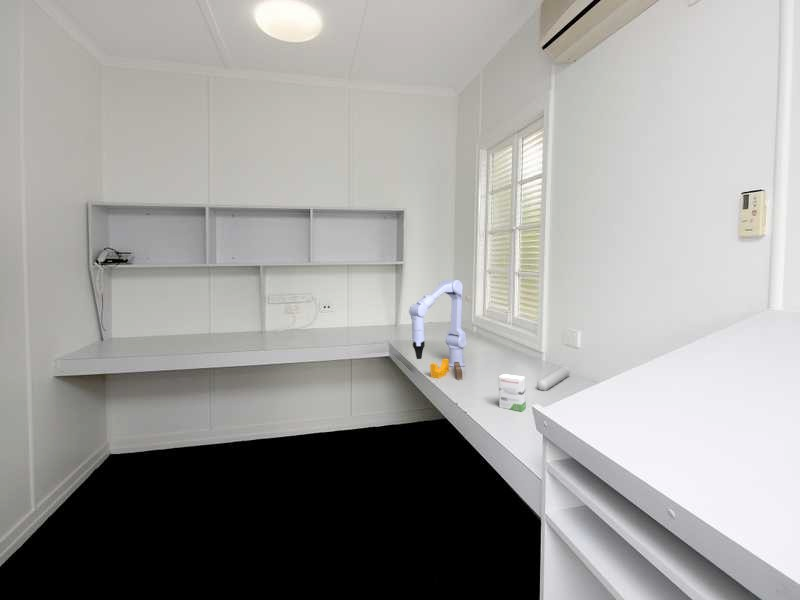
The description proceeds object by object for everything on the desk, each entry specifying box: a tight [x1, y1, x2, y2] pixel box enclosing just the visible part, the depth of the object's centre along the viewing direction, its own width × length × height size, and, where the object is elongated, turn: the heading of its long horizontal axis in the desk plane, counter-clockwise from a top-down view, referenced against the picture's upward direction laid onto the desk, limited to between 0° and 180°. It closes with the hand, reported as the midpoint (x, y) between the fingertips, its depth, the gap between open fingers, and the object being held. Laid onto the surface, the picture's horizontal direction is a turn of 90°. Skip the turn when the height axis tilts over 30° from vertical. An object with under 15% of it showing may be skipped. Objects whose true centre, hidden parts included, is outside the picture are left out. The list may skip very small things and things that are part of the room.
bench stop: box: [453, 362, 463, 381], centre depth 191 cm, size 16×2×4 cm, turn 177°
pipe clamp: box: [429, 358, 450, 379], centre depth 192 cm, size 12×4×6 cm, turn 142°
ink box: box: [498, 373, 527, 412], centre depth 147 cm, size 9×5×12 cm, turn 54°
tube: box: [536, 365, 571, 392], centre depth 173 cm, size 5×5×25 cm
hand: (419, 357), depth 192 cm, fingers open, 3 cm apart
